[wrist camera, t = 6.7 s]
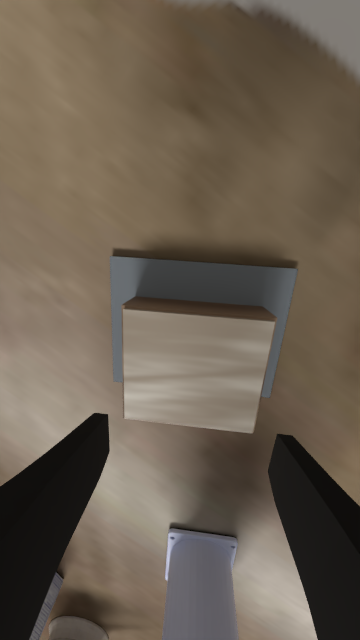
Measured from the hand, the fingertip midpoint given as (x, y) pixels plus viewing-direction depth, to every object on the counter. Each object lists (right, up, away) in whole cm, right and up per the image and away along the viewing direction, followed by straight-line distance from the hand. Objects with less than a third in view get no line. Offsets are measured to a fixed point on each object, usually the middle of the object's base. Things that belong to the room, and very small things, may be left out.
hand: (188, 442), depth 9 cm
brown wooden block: (0, -2, +9) cm, 9 cm away
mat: (+1, +4, +9) cm, 10 cm away
